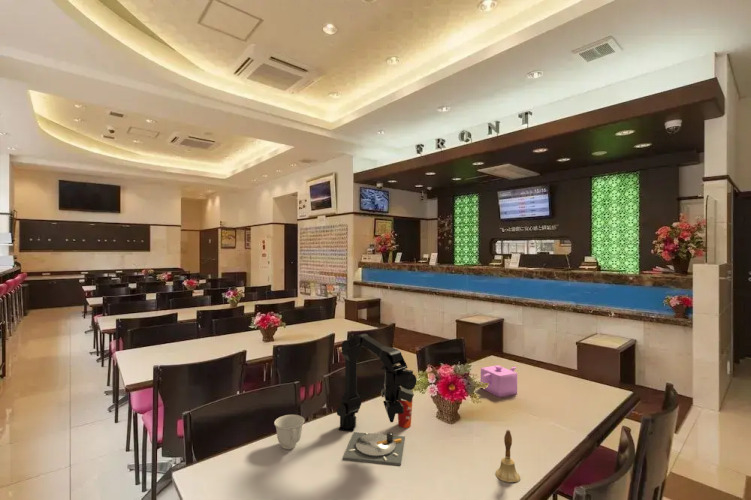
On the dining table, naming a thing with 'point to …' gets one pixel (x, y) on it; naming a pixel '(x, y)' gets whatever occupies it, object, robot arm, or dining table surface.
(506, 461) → the hand bell
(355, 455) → the grey dial base plate
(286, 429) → the teacup
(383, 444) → the dial
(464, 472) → the dining table surface
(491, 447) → the dining table surface
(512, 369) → the teapot
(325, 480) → the dining table surface
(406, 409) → the paper cup
